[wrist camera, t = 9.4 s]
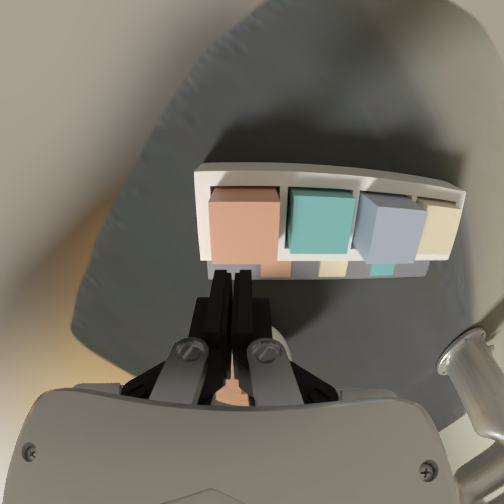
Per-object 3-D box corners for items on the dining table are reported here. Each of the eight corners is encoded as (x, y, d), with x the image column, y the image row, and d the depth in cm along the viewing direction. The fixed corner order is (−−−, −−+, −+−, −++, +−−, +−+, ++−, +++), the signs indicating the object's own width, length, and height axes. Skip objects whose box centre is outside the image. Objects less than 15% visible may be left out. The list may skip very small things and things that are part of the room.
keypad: (444, 180, 23) (466, 191, 20) (421, 271, 29) (436, 290, 26) (202, 162, 23) (193, 171, 20) (209, 274, 29) (204, 296, 25)
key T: (337, 182, 24) (355, 198, 19) (331, 229, 26) (346, 254, 22) (286, 179, 24) (294, 195, 19) (283, 228, 26) (290, 253, 22)
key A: (274, 183, 22) (280, 202, 18) (272, 235, 24) (276, 264, 20) (216, 183, 22) (208, 202, 18) (219, 235, 24) (212, 264, 20)
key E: (435, 193, 24) (462, 209, 19) (426, 233, 26) (449, 254, 22) (401, 188, 24) (427, 205, 19) (393, 231, 26) (415, 254, 22)
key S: (399, 192, 22) (427, 210, 18) (390, 238, 25) (413, 263, 20) (354, 188, 22) (377, 206, 18) (347, 236, 25) (366, 264, 20)
